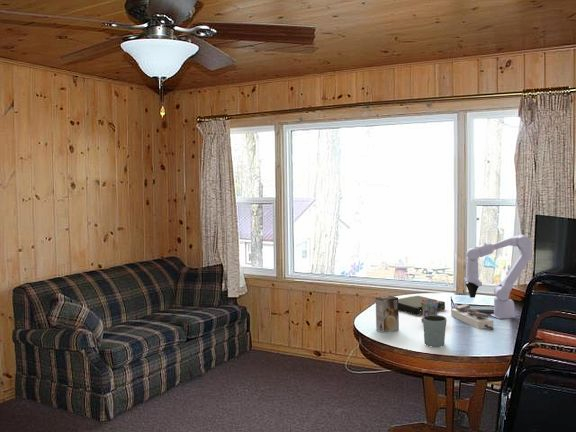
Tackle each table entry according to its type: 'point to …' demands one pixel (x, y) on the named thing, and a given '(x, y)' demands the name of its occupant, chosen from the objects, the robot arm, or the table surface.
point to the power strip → (472, 319)
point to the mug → (429, 307)
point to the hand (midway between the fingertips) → (472, 297)
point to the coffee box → (387, 314)
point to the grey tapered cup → (434, 330)
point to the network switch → (415, 305)
